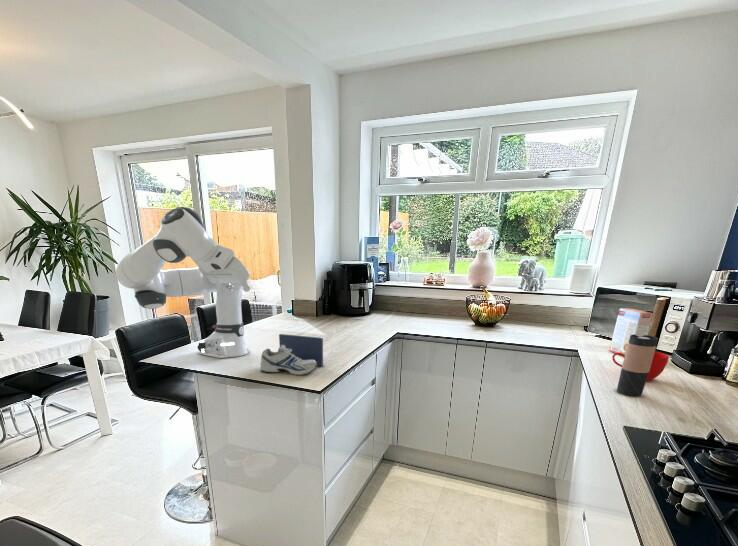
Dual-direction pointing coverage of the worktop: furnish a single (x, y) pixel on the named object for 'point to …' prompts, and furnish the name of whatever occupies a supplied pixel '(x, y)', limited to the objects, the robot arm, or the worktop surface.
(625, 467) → the worktop surface
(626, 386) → the travel mug
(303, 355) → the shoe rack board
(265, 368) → the athletic shoe
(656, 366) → the ceramic cup
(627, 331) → the cracker box
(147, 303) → the robot arm
